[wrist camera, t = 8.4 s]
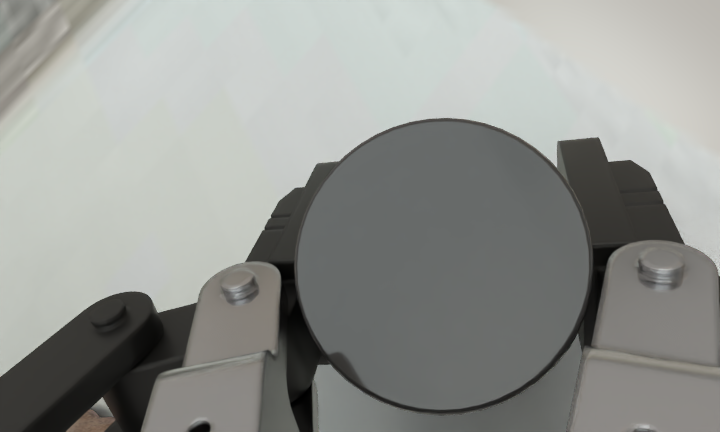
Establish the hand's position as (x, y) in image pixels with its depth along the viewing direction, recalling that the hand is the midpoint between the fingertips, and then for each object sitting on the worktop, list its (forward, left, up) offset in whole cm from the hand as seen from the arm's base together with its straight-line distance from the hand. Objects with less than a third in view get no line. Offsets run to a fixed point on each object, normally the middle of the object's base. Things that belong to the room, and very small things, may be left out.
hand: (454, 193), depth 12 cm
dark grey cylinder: (-1, +2, -5) cm, 5 cm away
